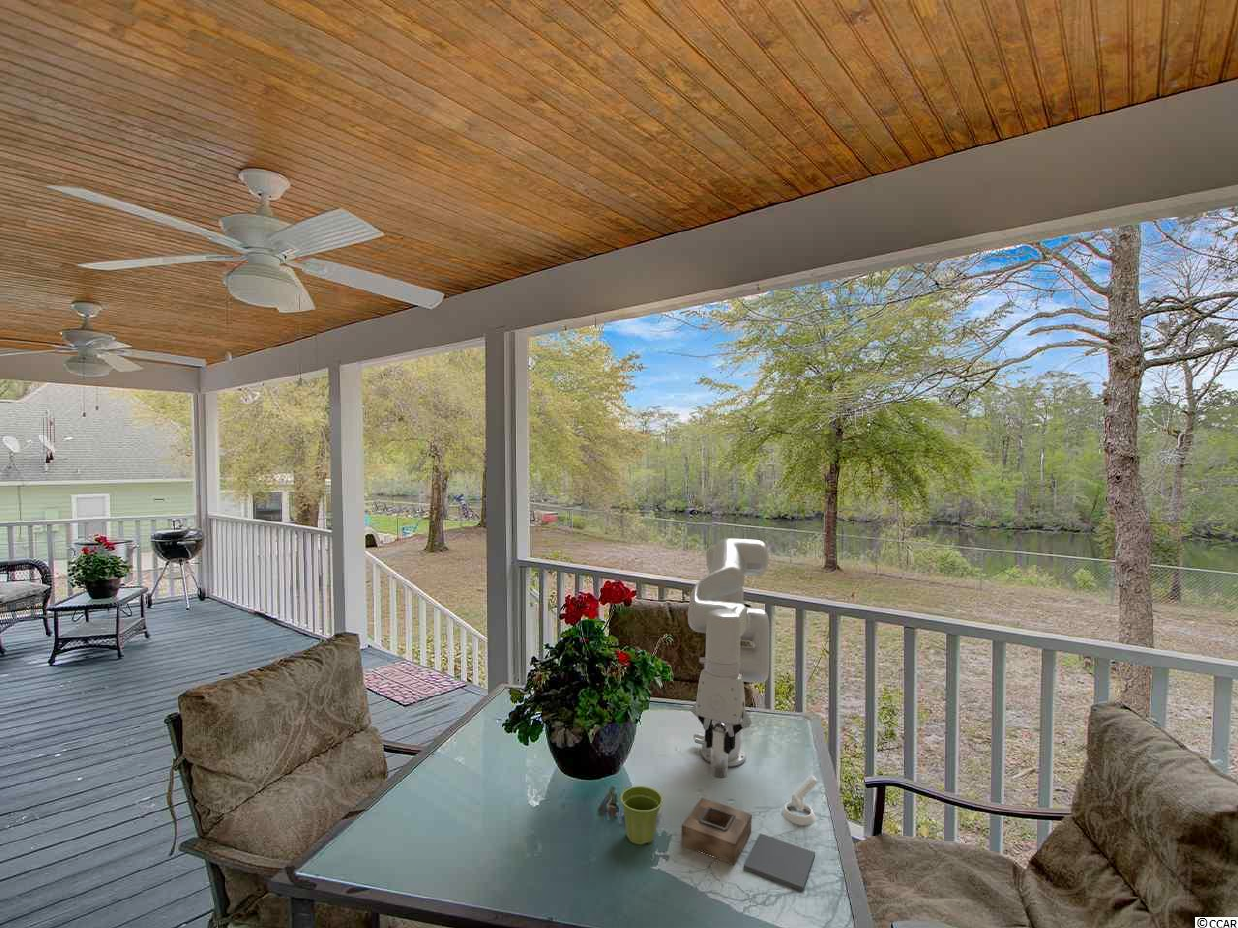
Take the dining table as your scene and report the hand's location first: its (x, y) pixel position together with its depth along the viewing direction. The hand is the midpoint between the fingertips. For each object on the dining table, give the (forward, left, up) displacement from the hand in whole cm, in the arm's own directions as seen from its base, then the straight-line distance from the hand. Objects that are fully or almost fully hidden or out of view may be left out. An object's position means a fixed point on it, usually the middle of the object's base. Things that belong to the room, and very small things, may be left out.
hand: (719, 747), depth 130 cm
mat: (+14, 0, -21) cm, 25 cm away
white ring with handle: (+14, +19, -21) cm, 31 cm away
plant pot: (-15, -8, -21) cm, 27 cm away
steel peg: (0, 0, -6) cm, 6 cm away
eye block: (0, 0, -21) cm, 21 cm away
